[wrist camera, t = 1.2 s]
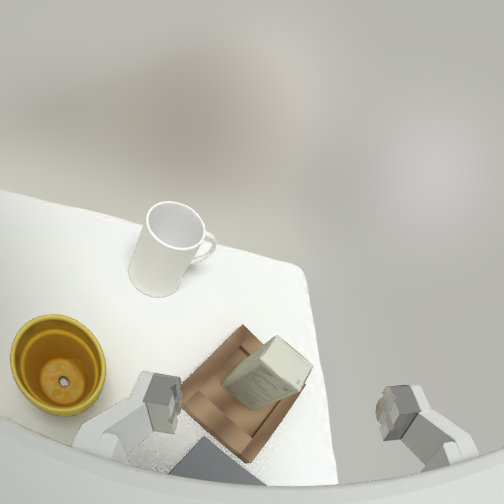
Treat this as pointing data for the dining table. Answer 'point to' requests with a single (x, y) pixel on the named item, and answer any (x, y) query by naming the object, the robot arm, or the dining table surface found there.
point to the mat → (212, 466)
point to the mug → (167, 248)
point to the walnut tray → (231, 400)
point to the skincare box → (268, 375)
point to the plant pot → (58, 364)
